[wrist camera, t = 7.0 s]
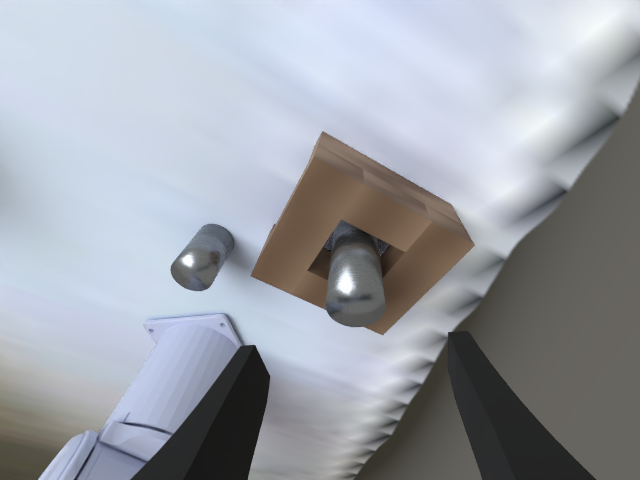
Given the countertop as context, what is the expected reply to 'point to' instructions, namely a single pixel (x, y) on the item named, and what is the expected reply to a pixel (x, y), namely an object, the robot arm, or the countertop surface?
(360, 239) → the tall pin
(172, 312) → the countertop surface
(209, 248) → the short pin
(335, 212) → the hole bridge
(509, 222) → the countertop surface
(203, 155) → the countertop surface
